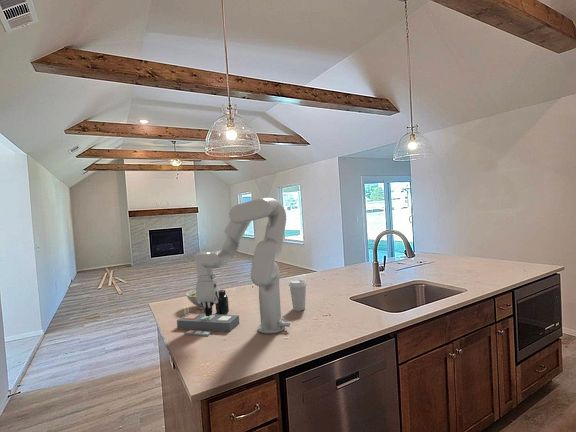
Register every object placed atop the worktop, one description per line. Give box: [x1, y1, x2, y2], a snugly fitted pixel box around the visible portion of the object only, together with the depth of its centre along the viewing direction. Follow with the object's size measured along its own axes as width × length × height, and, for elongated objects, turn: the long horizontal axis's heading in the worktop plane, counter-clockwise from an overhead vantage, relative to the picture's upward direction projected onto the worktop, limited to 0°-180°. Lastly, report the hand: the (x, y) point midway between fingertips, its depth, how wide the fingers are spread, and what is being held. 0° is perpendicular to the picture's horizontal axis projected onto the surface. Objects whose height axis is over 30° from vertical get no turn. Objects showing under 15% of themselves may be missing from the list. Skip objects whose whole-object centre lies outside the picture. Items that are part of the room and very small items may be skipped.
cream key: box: [217, 316, 232, 321], centre depth 152 cm, size 5×5×3 cm
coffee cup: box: [288, 278, 307, 312], centre depth 172 cm, size 10×10×15 cm
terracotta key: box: [184, 314, 199, 320], centre depth 157 cm, size 5×5×3 cm
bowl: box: [185, 288, 220, 310], centre depth 185 cm, size 19×19×10 cm
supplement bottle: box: [214, 289, 230, 315], centre depth 172 cm, size 7×7×12 cm
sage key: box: [200, 315, 215, 320], centre depth 155 cm, size 5×5×3 cm
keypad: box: [176, 312, 240, 333], centre depth 155 cm, size 28×10×4 cm, turn 74°
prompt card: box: [184, 329, 213, 337], centre depth 146 cm, size 12×4×1 cm, turn 74°
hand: (209, 315), depth 154 cm, fingers closed
